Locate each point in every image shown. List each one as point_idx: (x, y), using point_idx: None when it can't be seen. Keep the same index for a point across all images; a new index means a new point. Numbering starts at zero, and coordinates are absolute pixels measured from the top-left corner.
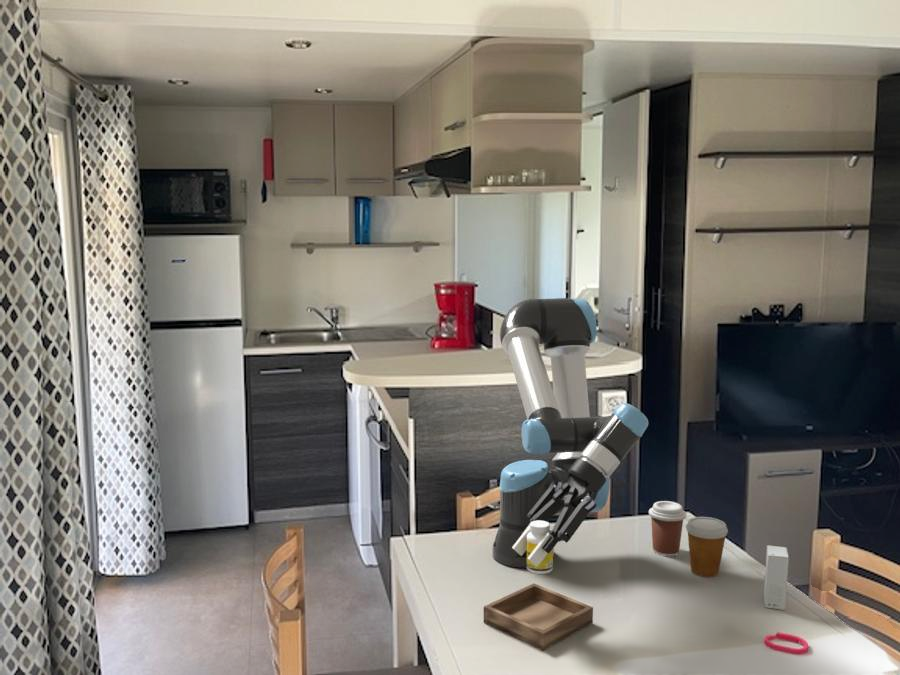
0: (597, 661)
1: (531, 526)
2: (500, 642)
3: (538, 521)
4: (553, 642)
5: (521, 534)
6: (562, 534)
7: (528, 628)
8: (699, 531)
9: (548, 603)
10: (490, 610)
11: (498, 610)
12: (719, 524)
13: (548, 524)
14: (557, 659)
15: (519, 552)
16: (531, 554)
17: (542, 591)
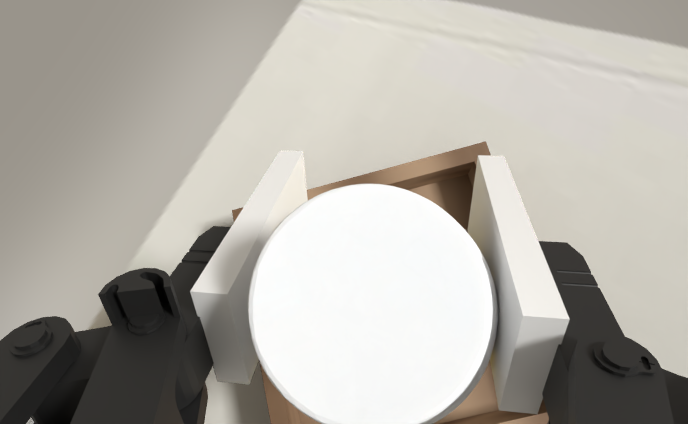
0: None
1: (377, 187)
2: (348, 145)
3: (441, 333)
4: None
5: (567, 243)
6: (7, 346)
7: None
8: None
9: (469, 413)
10: (453, 151)
11: (435, 169)
12: None
13: (290, 385)
14: (196, 229)
15: (471, 208)
16: (285, 166)
17: (511, 417)
